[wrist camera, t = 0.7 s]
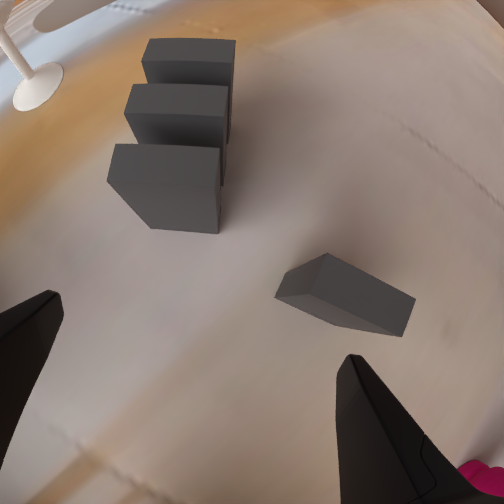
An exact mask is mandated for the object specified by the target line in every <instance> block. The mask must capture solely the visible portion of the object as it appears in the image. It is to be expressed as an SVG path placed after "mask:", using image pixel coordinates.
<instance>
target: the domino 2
mask: <svg viewBox="0 0 504 504" xmlns="http://www.w3.org/2000/svg"><path fill="white" fill-rule="evenodd" d="M227 108H228V86H216V85H198V84H133V86H132V89H131V92H130V95H129V98H128V102H127V105H126V108H125V111H124V115H125V117H126V119H127V121H128V123H129V125H130V127H131V129H132V131H133V133H134V135H135V137H136V139H137V141H138V143H139V144H156V145H179V146H196V147H210V148H220V186H223V184H224V175H225V166H226V138H227Z"/></svg>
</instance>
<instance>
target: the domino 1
mask: <svg viewBox="0 0 504 504" xmlns="http://www.w3.org/2000/svg"><path fill="white" fill-rule="evenodd" d="M235 43H236V40H224V39H203V38H157V39H150V40H149V42H148V45H147V47H146V50H145V52H144V55H143V58H142V60H141V62H142V65H143V69H144V72H145V75H146V79H147V82H148V84H198V85H216V86H228V108H227V138H226V144H228V141H229V133H230V125H231V108H232V91H233V74H234V58H235Z"/></svg>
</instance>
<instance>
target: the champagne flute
mask: <svg viewBox="0 0 504 504" xmlns="http://www.w3.org/2000/svg"><path fill="white" fill-rule="evenodd" d="M14 2H15V0H0V46H1V47H2V49H3V50H4V52H5V53H6V54H7V56H8V57H9V58H10V60H11V61H12V62H13V64H14V65H15V66H16V68H17V69H18V70H19V72H20V73H21V74H22V76H23V77H24V78H23V80H22V81H21V82H20V84H19V85H18V87H17V88H16V91H15V93H14V97H13V104H14V106H15V108H16V109H17V110H19V111H29V110H32V109H34V108H36V107H38V106H40V105H41V104H43V103H44V102H45V101H46V100H48V99H49V98H50V97H51V96H52V95H53V94H54V92H55V91H56V90H57V88H58V87H59V85H60V83H61V80H62V77H63V69H62V67H61V66H60V65H59V64H57V63H47V64H43V65H41V66H39V67H37V68H35V69H34V70H32V69H31V67H30V66H29V64H28V63H27V62H26V60H25V59H24V57H23V56H22V54H21V53H20V51H19V50H18V49H17V47H16V46H15V44H14V43H13V41H12V40H11V38H10V37H9V35H8V34H7V32H6V31H5V29H4V28H3V27H4V25H5V24H6V22H7V20H8V18H9V15H10V13H11V10H12V8H13V5H14Z"/></svg>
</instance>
